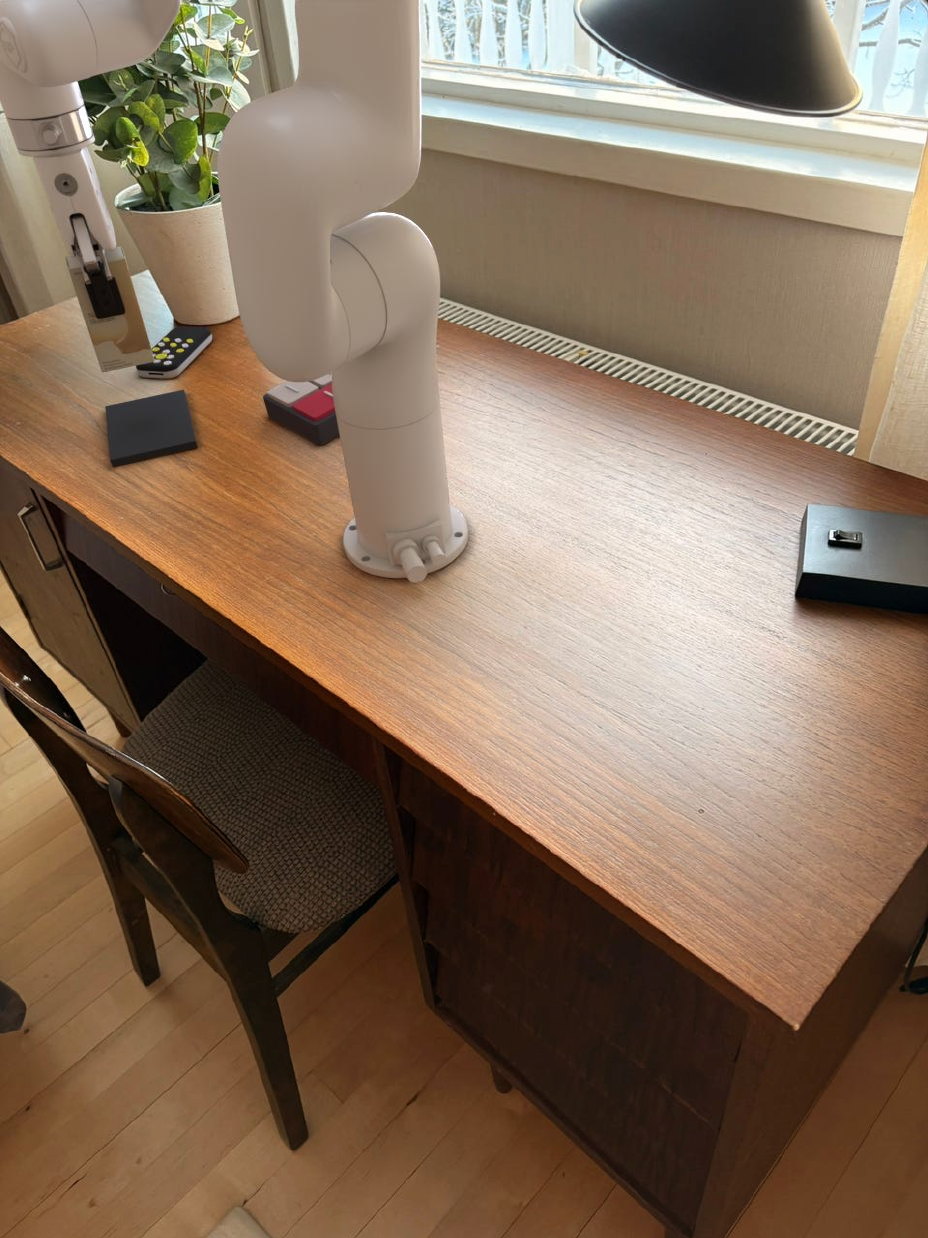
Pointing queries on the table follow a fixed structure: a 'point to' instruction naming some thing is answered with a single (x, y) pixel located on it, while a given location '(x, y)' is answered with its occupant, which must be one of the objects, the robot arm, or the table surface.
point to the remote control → (175, 352)
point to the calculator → (305, 408)
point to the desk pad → (149, 428)
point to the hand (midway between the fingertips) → (109, 304)
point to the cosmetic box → (114, 318)
